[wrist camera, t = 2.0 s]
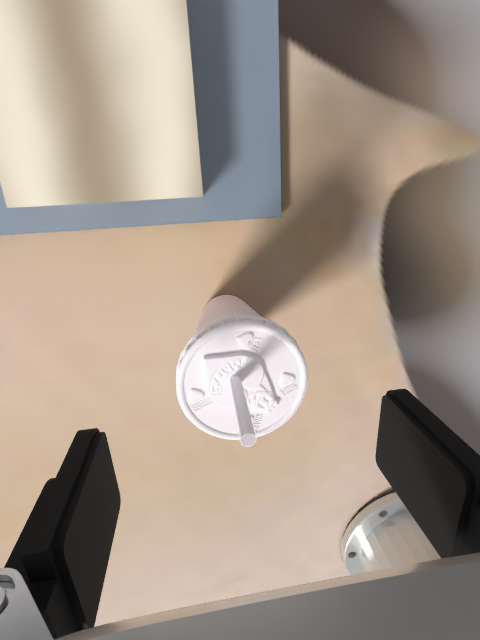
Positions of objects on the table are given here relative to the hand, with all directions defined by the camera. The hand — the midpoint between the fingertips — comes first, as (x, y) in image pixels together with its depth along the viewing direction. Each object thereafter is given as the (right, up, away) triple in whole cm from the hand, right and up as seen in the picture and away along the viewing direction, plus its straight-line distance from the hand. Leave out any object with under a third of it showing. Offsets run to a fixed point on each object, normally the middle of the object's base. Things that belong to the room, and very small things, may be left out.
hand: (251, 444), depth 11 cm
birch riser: (-8, +16, +9) cm, 20 cm away
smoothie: (-1, +4, +14) cm, 15 cm away
